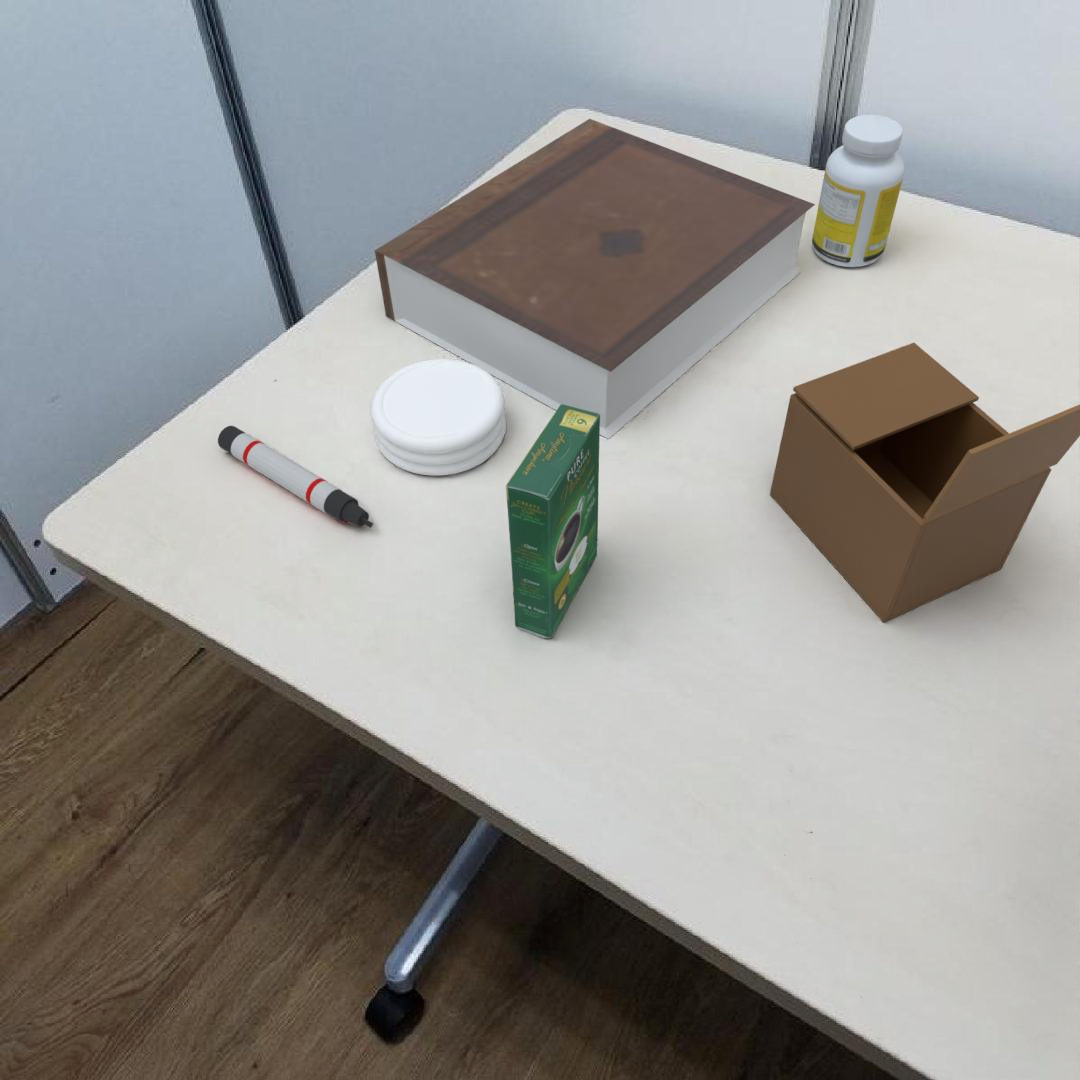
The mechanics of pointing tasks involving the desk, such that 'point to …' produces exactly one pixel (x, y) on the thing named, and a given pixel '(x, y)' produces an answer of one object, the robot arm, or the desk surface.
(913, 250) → the desk surface
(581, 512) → the coffee box
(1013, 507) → the carton
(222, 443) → the marker
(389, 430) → the white round container
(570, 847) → the desk surface
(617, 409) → the book
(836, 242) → the pill bottle
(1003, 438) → the flap
